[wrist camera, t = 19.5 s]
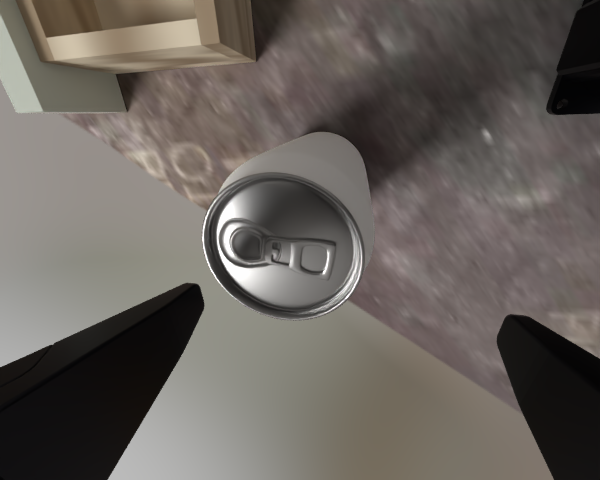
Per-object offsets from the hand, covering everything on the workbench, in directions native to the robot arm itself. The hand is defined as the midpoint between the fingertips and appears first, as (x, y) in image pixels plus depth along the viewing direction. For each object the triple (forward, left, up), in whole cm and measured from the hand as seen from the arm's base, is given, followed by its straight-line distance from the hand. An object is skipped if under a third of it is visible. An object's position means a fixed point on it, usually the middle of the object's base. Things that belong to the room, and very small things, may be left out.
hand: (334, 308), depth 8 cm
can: (+2, -1, -13) cm, 13 cm away
